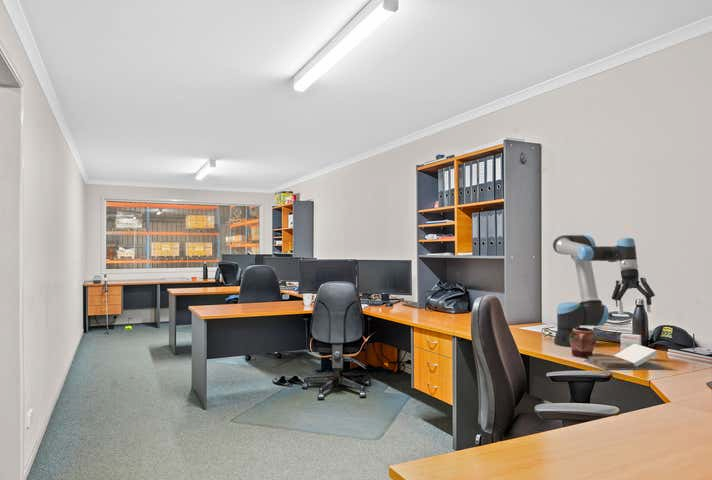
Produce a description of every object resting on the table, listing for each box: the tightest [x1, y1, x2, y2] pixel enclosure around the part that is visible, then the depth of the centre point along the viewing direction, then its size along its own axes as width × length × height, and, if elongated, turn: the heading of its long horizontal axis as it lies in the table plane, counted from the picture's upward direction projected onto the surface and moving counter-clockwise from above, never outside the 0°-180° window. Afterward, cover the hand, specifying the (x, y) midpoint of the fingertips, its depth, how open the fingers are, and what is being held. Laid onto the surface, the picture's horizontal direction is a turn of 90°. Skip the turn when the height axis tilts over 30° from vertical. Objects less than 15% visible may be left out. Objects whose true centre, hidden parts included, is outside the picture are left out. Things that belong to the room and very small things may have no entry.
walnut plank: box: [587, 355, 633, 368], centre depth 220 cm, size 15×12×2 cm
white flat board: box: [613, 344, 659, 367], centre depth 221 cm, size 15×12×2 cm
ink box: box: [620, 333, 642, 352], centre depth 235 cm, size 9×5×12 cm, turn 53°
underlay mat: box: [583, 359, 665, 371], centre depth 221 cm, size 17×28×1 cm, turn 94°
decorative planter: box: [569, 327, 597, 359], centre depth 238 cm, size 20×12×14 cm, turn 156°
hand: (634, 313), depth 229 cm, fingers open, 13 cm apart
